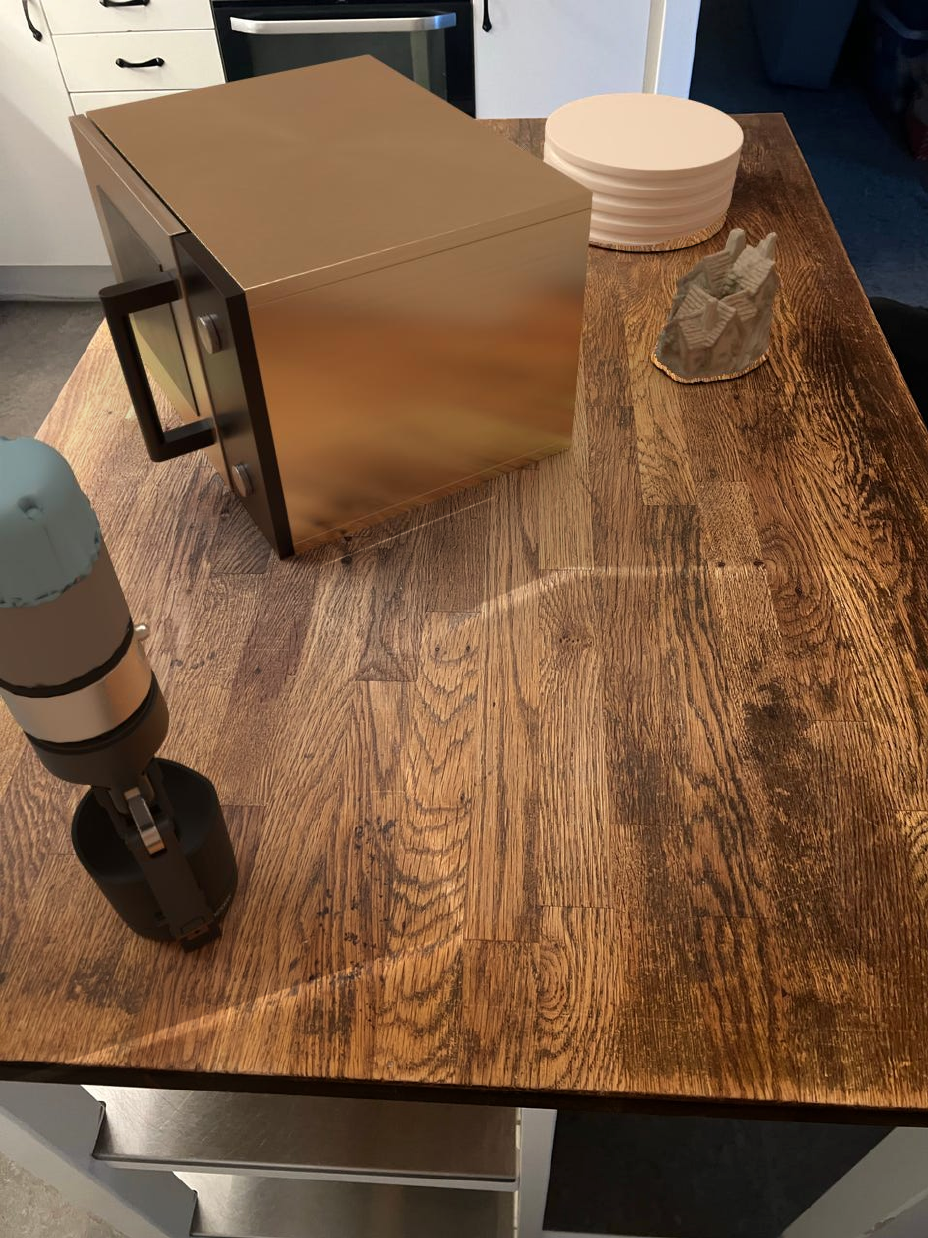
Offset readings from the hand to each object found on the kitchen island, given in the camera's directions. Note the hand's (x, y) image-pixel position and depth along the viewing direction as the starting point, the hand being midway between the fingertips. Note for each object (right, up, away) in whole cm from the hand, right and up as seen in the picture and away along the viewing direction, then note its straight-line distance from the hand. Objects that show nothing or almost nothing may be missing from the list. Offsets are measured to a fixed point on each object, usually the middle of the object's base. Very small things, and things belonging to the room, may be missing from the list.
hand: (179, 886), depth 70 cm
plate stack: (+46, +81, +75) cm, 120 cm away
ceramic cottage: (+50, +53, +49) cm, 89 cm away
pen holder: (0, 0, 0) cm, 0 cm away
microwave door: (-14, +42, +39) cm, 59 cm away
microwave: (+6, +45, +42) cm, 62 cm away
